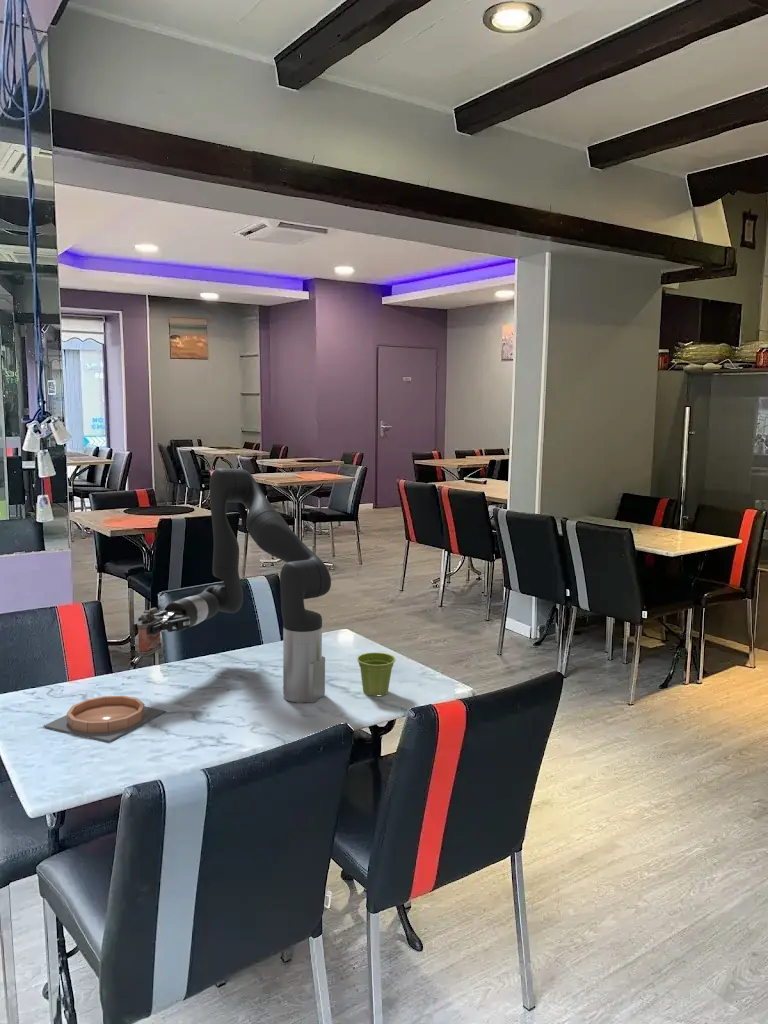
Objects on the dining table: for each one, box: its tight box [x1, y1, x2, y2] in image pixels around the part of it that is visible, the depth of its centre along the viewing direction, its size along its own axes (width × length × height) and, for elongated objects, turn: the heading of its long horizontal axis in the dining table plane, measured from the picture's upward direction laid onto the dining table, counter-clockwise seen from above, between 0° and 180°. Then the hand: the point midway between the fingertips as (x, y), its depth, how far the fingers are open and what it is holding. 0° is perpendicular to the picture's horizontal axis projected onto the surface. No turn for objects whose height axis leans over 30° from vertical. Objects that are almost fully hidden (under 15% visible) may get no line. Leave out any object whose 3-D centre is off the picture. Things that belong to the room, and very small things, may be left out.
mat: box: [43, 705, 167, 743], centre depth 169 cm, size 18×18×1 cm
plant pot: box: [356, 652, 397, 697], centre depth 188 cm, size 9×9×9 cm
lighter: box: [137, 607, 162, 657], centre depth 183 cm, size 8×3×10 cm, turn 168°
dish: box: [66, 695, 146, 733], centre depth 169 cm, size 16×16×2 cm
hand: (141, 629), depth 180 cm, fingers closed on lighter, 3 cm apart
